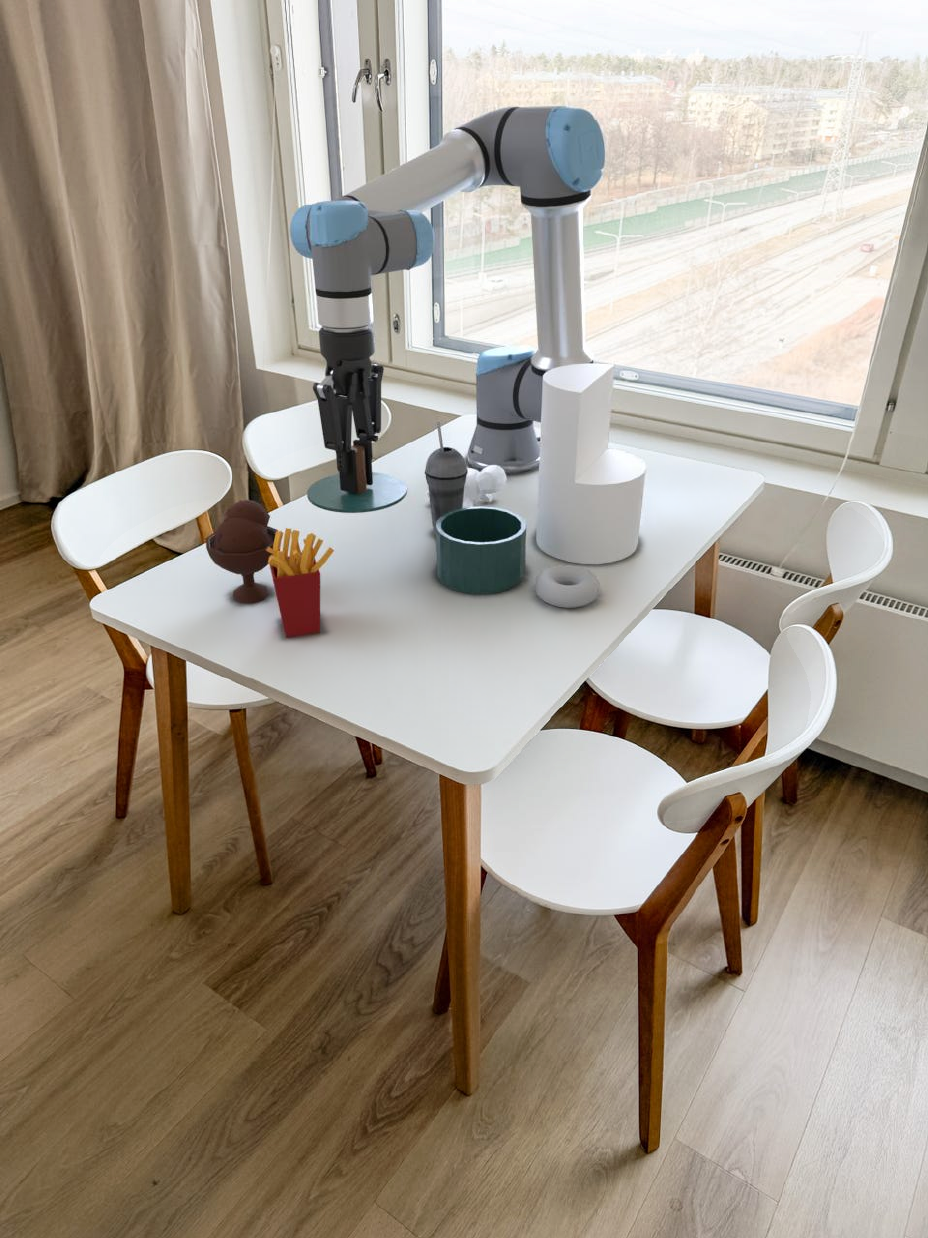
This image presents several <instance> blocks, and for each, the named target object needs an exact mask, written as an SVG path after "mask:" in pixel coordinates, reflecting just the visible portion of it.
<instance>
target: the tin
mask: <svg viewBox="0 0 928 1238" xmlns="http://www.w3.org/2000/svg"><path fill="white" fill-rule="evenodd" d="M526 549H527V522H526V520H525V519H524V518H523V517H522V516H521V515H520V514H517V513H515V512H514V511H511V510H508V509H505V508H500V507H496V506H480V505H479V506H474V507H466V508H461V509H457V510H453V511H451V512H448V513H446V514H444V515H442V516H441V517H440V518H439V519H438V520H437V521H436V536H435V555H436V556H435V565H436V567H435V568H436V576H437V579H438V580H439V582H440V583H441V584H442V585H444V587H447V588H449V589H450V590H453V591H456V592H461V593H465V594H470V595H471V594H472V595H491V594H497V593H498V594H499V593H502V592H505V591H509V590H511V589H513V588H515V587H516V586H518V585H520V583H522V581H523V580H524V577H525V573H526V551H527V550H526Z"/></svg>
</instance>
